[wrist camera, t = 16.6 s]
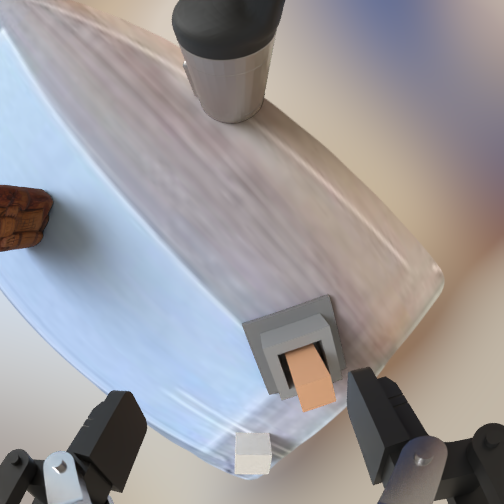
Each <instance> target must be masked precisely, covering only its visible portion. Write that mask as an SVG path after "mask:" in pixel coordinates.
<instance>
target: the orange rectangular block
mask: <svg viewBox="0 0 504 504" xmlns="http://www.w3.org/2000/svg"><path fill="white" fill-rule="evenodd" d="M285 356H286V359H287V362H288V365H289V369H290V372H291V375H292V378H293V382H294V385H295V388H296V391H297V394H298V397H299V400H300V404H301V407H302V410H303V412H306V411H309V410H312V409H315V408H318V407H321V406H324V405H327V404H329V403H332V402H335V401H336V398H335V393H334V389H333V384H332V380H331V376H330V374H329V372H328V370H327V368H326V366H325V365H324V363H323V361H322V359H321V357H320V356H319V354H318V352H317V350H316V348H315V347H314V345H313V343H311V344H308V345H306V346H303V347H300V348H297V349H294V350H291V351H288V352H285Z"/></svg>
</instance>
